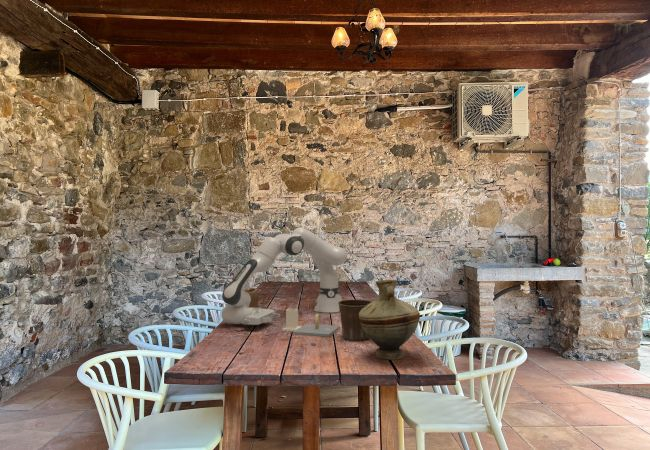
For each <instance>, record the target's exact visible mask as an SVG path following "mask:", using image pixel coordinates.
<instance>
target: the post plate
mask: <svg viewBox="0 0 650 450" xmlns="http://www.w3.org/2000/svg"><path fill="white" fill-rule="evenodd" d="M314 319H315V320H314V324H313V323H305V324H303V325H301V326H302V327H300V328H298V329H297V330H295V331H292V335H297V336H298V335H300V336H311V337H323V338H330V337H331V336H333V334H335V333H336V332H337V331H338V330H340V329H341V325H331V324H320V315H319V313H316V314H314Z"/></svg>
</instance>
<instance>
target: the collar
mask: <svg viewBox="0 0 650 450" xmlns="http://www.w3.org/2000/svg"><path fill="white" fill-rule="evenodd" d="M302 326H303V325H299V308H291V307H290V308H287V309H285V326H284V327H283V328H282V329H281V331H283V332H293V331H295V330H297V329H298V328H300V327H302Z"/></svg>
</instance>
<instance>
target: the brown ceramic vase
mask: <svg viewBox="0 0 650 450" xmlns="http://www.w3.org/2000/svg"><path fill="white" fill-rule="evenodd" d="M375 284H376V287H377V288H378V296H377V299H375V300H373V301H372V302H371V303H370V304H368V305H367V306H365V307H364V308H363V309H362V310H361V311H360V312H359V320H360V323H361V326H362V328H363V330H364V332H365V333H366V334H367V336H368V337H369V338H368V339H369V340H370V341H372V342H373V344H375V345H376V346H377V347H378V348H377V349H376V350H375V356H376V357H377V358H379V359H383V360H389V361H390V360H391V361H395V359H396V360H401V359H403V358H404V357H405V351H404V349H401V347H402V346H404V344H405V343H406V342H407V341H409V339H411V337H412V336H413V334H415V332H416V331H417V328H418V326H419V322H420V319H421V313H420V311H419V309H417V308H416V307H415V306H414V305H413V304H410V303H409V302H406V301H404V300H402V299H399V298H397V297H395V291H396V290H395V289H396V287H397V284H398V280H397V279H384V280H377V281H375Z"/></svg>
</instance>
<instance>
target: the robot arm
mask: <svg viewBox="0 0 650 450" xmlns="http://www.w3.org/2000/svg"><path fill="white" fill-rule="evenodd" d="M303 250H304V251H305V252H306V253H308V254H310V255H311V260H312V261H313V262H314V263H315V265H316V267H317V269H318V273H319V283H320V284H319V290H318V291H319V295H318V296H317V298H316V299H315V305H314V309H313V312H318V313H340V310H339V304H338V302H340V301H343V300H342V298H343V297H342V295H340V287H339V273H337V271H335V268H334V266H340V265H344V264H345V263H346V262H347V258H348V253H347V251H346V250H345V249H344V248H343V247H339V246H337V245H335V244H333V243H330V242H328V241H326V240H324V239H323V238H320V237H319V236H318V235H316V234H315V233H313V232H312V231H310V230H309V229H306V228H305V227H301V226H299V227H297V228H295V229H294V230H293V231H292V233H291V234H288V233H283V232H278V233H275V234H274V235H273V236H271V237H270V236H268V237H266V238H265V239H264V240H263V241H262V242H261V244H260V245H259V247H258V248H257V249H256V251H255V253H254V255H253V256H252V257H251V258H250V259H249V260H247V261H246V262H245V263H244V265H243V266H242V267H241V269H240V270H239V272H237V274H236V276H235V277H234V278H233V279H232V281H231V282H230V283H228V284H227V285H226V286H225V288H224V289H223V290H222V292H221V299H222V300H223V302H224V303H225V304H227V305H225V307H223V308H222V310H221V314H220V315H221V318H222V320H223V321H224V322H225V323H227V324H230V325H241V324H242V325H243V326H258V325H261V324H263V323H268V322H269V323H271V322H273V318H276V319H279V318H281V313H276V310H274V309H268V308H266V309H261V307H262V306H259V307H257V308H249V306H250V302H251V296H250V294H249V293H248V292H246V291H244V290H245V289H243V288H244V286H245V285H246V283H248V281H249V279H250V278H251V277H252V275H254V274H256V273H264V272H265V273H266V272H267V271H268V270H269V269H271V267H272V266H273V264H274V262H275V261H276V259H277V257H278V255H279V254H280V253H282V254H284V255H289V256H298V255H300V253H301V252H302V251H303Z"/></svg>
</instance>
